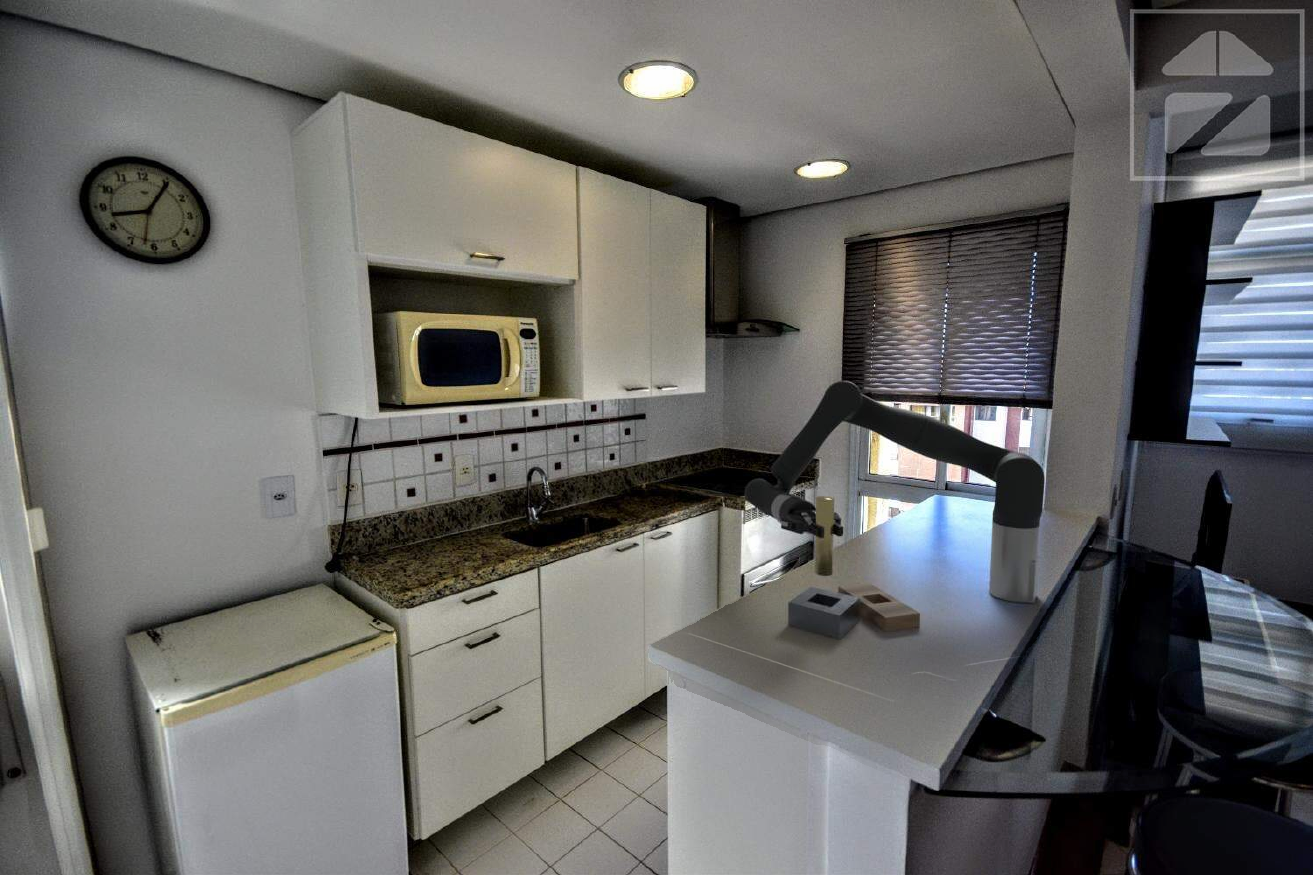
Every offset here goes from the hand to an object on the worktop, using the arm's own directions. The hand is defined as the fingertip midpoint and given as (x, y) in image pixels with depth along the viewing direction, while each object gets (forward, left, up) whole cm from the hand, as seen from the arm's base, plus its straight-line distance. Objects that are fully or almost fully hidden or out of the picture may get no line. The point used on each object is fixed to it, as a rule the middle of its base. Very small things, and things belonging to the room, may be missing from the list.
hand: (831, 532), depth 116 cm
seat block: (+2, -2, -20) cm, 21 cm away
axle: (+2, -2, -9) cm, 10 cm away
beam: (-5, -14, -20) cm, 25 cm away
